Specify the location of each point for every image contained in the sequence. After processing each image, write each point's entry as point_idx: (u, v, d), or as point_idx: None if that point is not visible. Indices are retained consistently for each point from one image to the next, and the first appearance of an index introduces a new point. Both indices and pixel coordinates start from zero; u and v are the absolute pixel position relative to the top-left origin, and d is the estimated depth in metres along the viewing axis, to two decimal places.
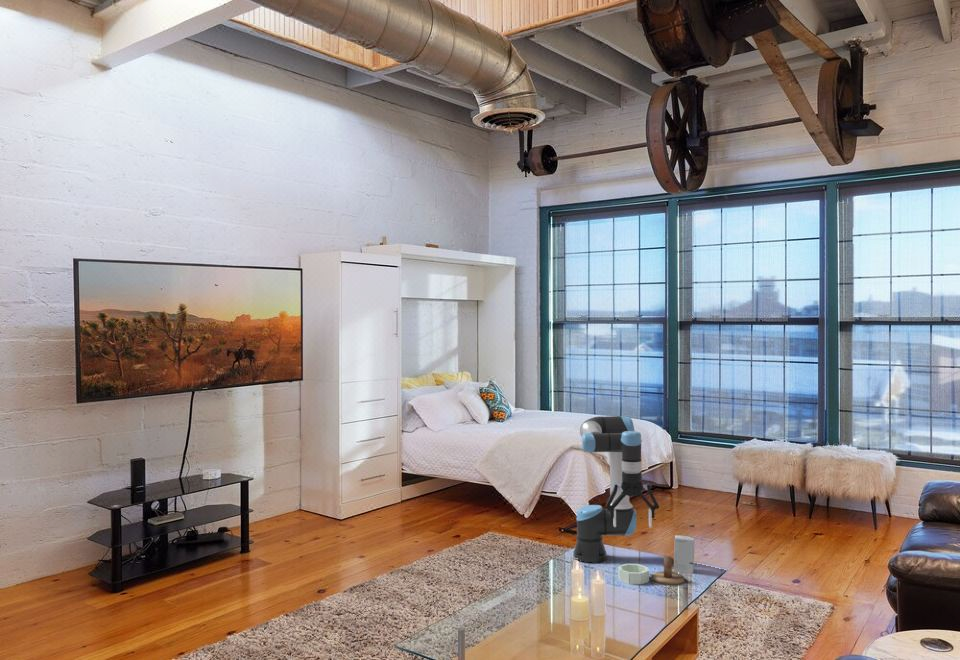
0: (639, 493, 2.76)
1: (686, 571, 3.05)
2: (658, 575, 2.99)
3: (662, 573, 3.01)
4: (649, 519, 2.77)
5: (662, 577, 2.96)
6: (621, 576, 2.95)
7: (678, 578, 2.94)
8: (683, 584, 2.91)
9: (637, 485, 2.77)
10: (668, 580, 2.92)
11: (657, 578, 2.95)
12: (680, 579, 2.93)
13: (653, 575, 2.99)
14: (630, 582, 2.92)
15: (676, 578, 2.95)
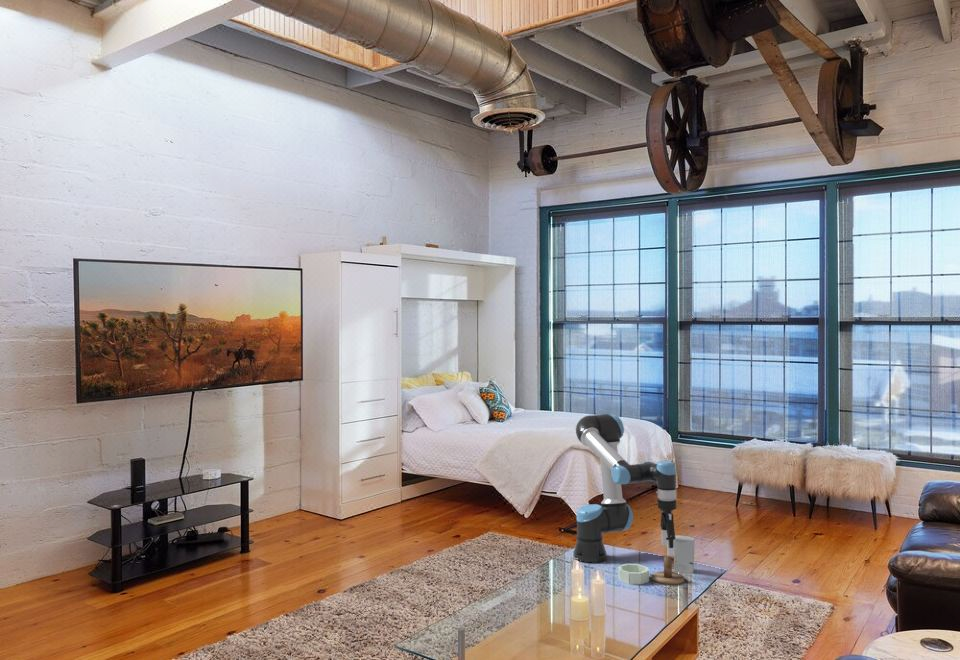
0: (664, 520, 2.94)
1: (686, 571, 3.05)
2: (658, 575, 2.99)
3: (662, 573, 3.01)
4: None
5: (662, 577, 2.96)
6: (621, 576, 2.95)
7: (678, 578, 2.94)
8: (683, 584, 2.91)
9: (665, 512, 2.95)
10: (668, 580, 2.92)
11: (657, 578, 2.95)
12: (680, 579, 2.93)
13: (653, 575, 2.99)
14: (630, 582, 2.92)
15: (676, 578, 2.95)
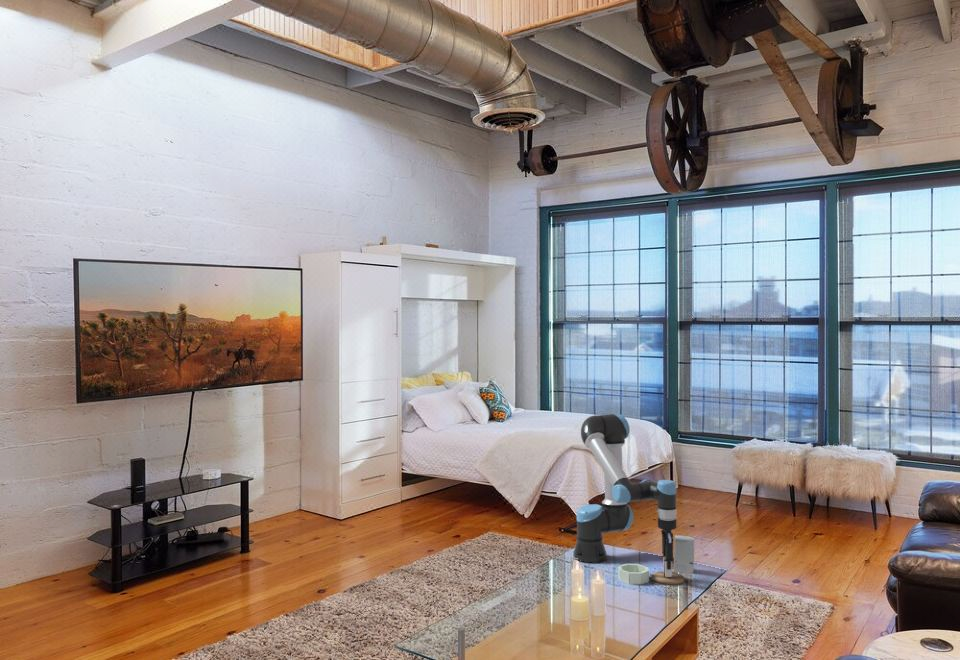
0: (663, 540, 2.96)
1: (686, 571, 3.05)
2: (658, 575, 2.99)
3: (662, 573, 3.01)
4: None
5: (662, 577, 2.96)
6: (621, 576, 2.95)
7: (678, 578, 2.94)
8: (683, 584, 2.91)
9: (665, 531, 2.95)
10: (668, 580, 2.92)
11: (657, 578, 2.95)
12: (680, 579, 2.93)
13: (653, 575, 2.99)
14: (630, 582, 2.92)
15: (676, 578, 2.95)
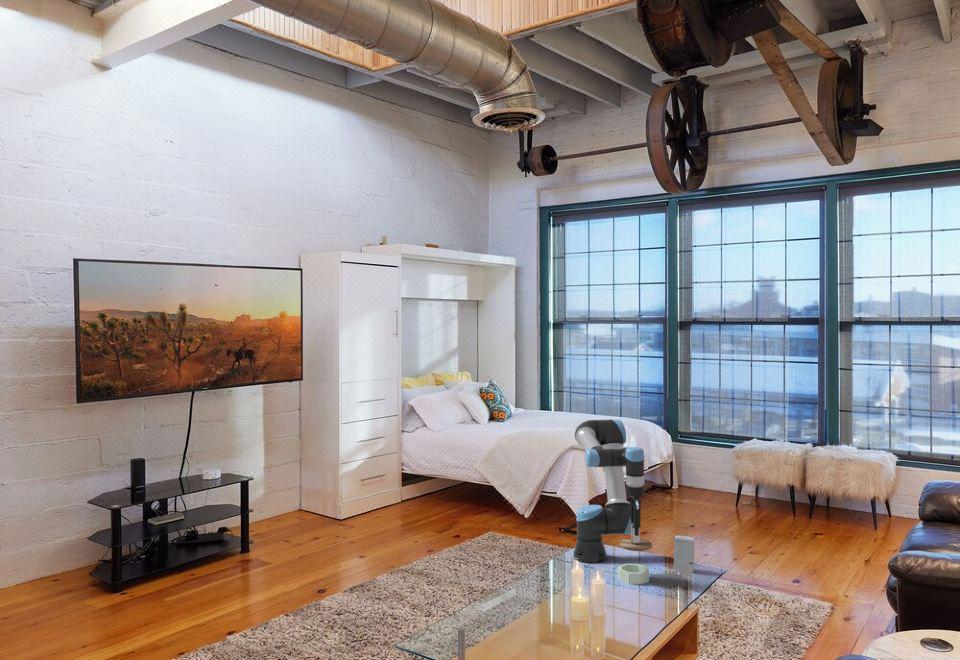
0: (631, 506, 2.97)
1: (686, 571, 3.05)
2: (626, 542, 3.00)
3: (630, 540, 3.02)
4: None
5: (630, 543, 2.97)
6: (621, 576, 2.95)
7: (645, 544, 2.96)
8: (683, 584, 2.91)
9: (633, 497, 2.96)
10: (635, 546, 2.94)
11: (625, 544, 2.96)
12: (647, 545, 2.95)
13: (621, 542, 3.00)
14: (630, 582, 2.92)
15: (644, 544, 2.96)
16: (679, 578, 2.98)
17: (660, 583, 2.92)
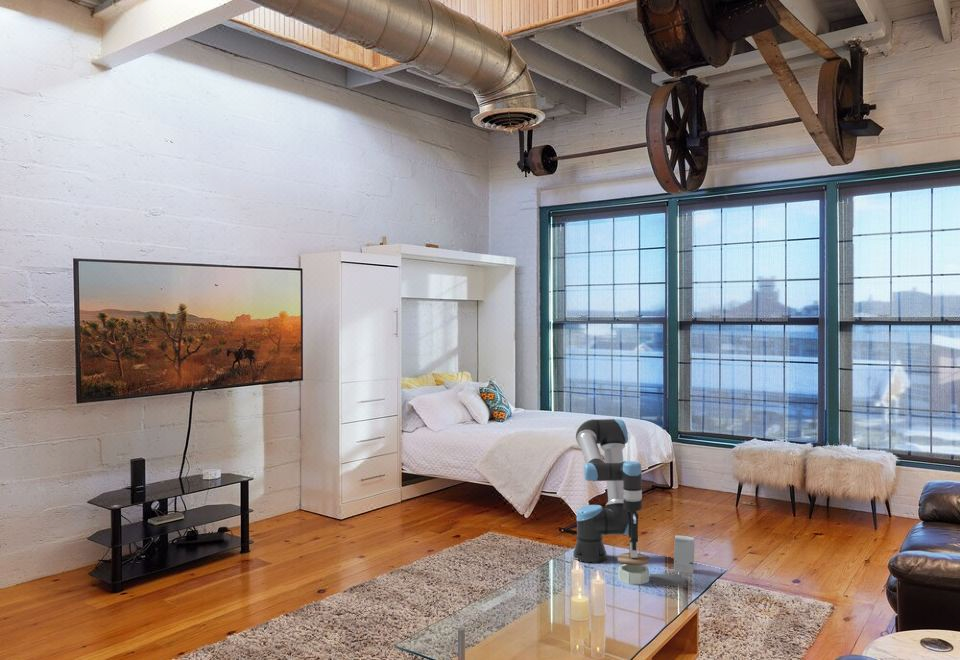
0: (629, 520, 2.97)
1: (686, 571, 3.05)
2: (624, 556, 3.00)
3: (628, 554, 3.02)
4: None
5: (628, 558, 2.97)
6: (621, 576, 2.95)
7: (643, 559, 2.95)
8: (683, 584, 2.91)
9: (630, 512, 2.96)
10: (633, 561, 2.93)
11: (622, 559, 2.96)
12: (645, 560, 2.94)
13: (619, 556, 3.00)
14: (630, 582, 2.92)
15: (642, 559, 2.96)
16: (679, 578, 2.98)
17: (660, 583, 2.92)
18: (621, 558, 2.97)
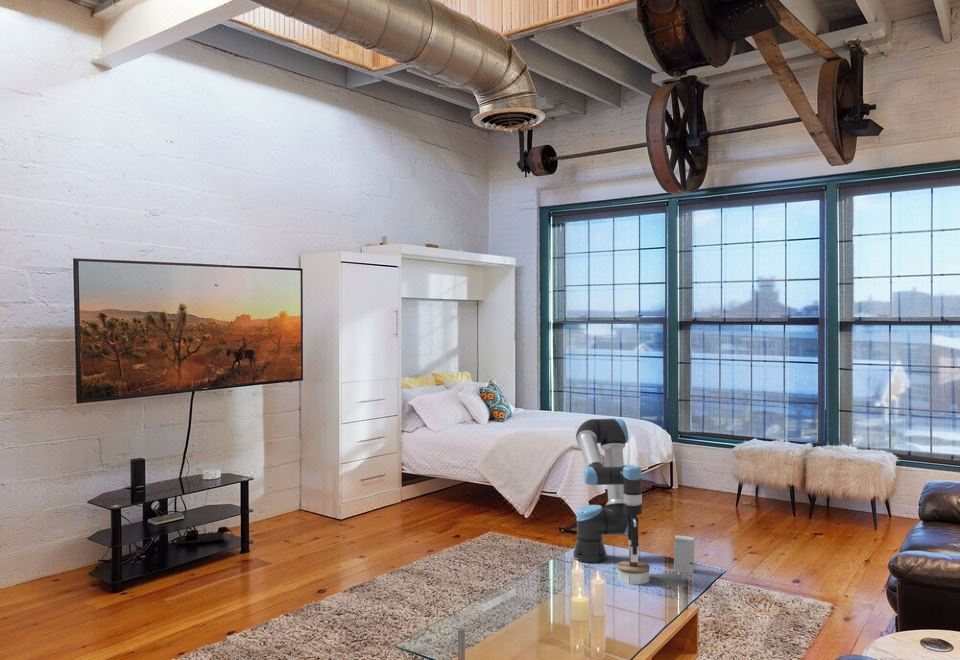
0: (629, 525, 2.96)
1: (686, 571, 3.05)
2: (624, 564, 3.00)
3: (628, 562, 3.02)
4: None
5: (628, 566, 2.97)
6: (621, 576, 2.95)
7: (643, 567, 2.96)
8: (683, 584, 2.91)
9: (630, 516, 2.96)
10: (633, 569, 2.93)
11: (622, 567, 2.96)
12: (645, 568, 2.95)
13: (619, 564, 3.00)
14: (630, 582, 2.92)
15: (642, 567, 2.96)
16: (679, 578, 2.98)
17: (660, 583, 2.92)
18: (621, 566, 2.97)
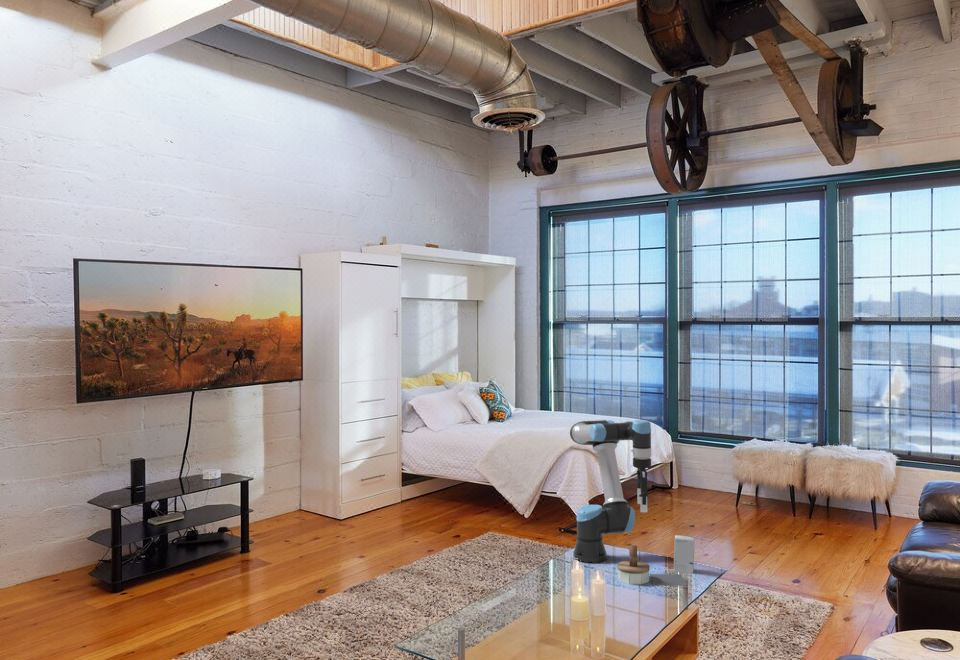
0: (638, 478, 3.00)
1: (686, 571, 3.05)
2: (624, 564, 3.00)
3: (628, 562, 3.02)
4: None
5: (628, 566, 2.97)
6: (621, 576, 2.95)
7: (643, 567, 2.96)
8: (683, 584, 2.91)
9: (639, 470, 3.00)
10: (633, 569, 2.93)
11: (622, 567, 2.96)
12: (645, 568, 2.95)
13: (619, 564, 3.00)
14: (630, 582, 2.92)
15: (642, 567, 2.96)
16: (679, 578, 2.98)
17: (660, 583, 2.92)
18: (621, 566, 2.97)
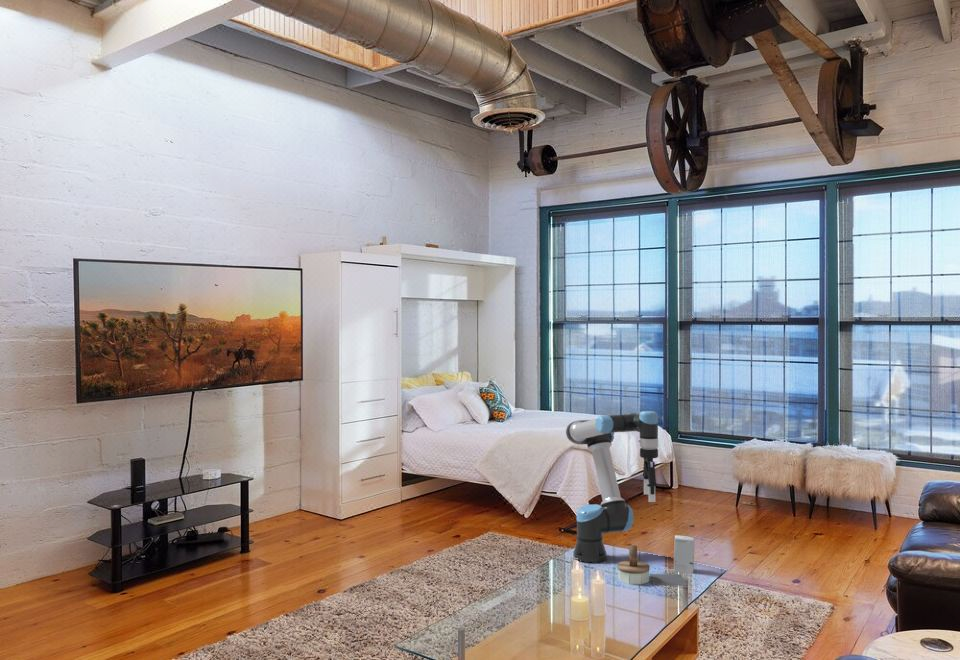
0: (646, 468, 3.02)
1: (686, 571, 3.05)
2: (624, 564, 3.00)
3: (628, 562, 3.02)
4: None
5: (628, 566, 2.97)
6: (621, 576, 2.95)
7: (643, 567, 2.96)
8: (683, 584, 2.91)
9: (647, 460, 3.03)
10: (633, 569, 2.93)
11: (622, 567, 2.96)
12: (645, 568, 2.95)
13: (619, 564, 3.00)
14: (630, 582, 2.92)
15: (642, 567, 2.96)
16: (679, 578, 2.98)
17: (660, 583, 2.92)
18: (621, 566, 2.97)
